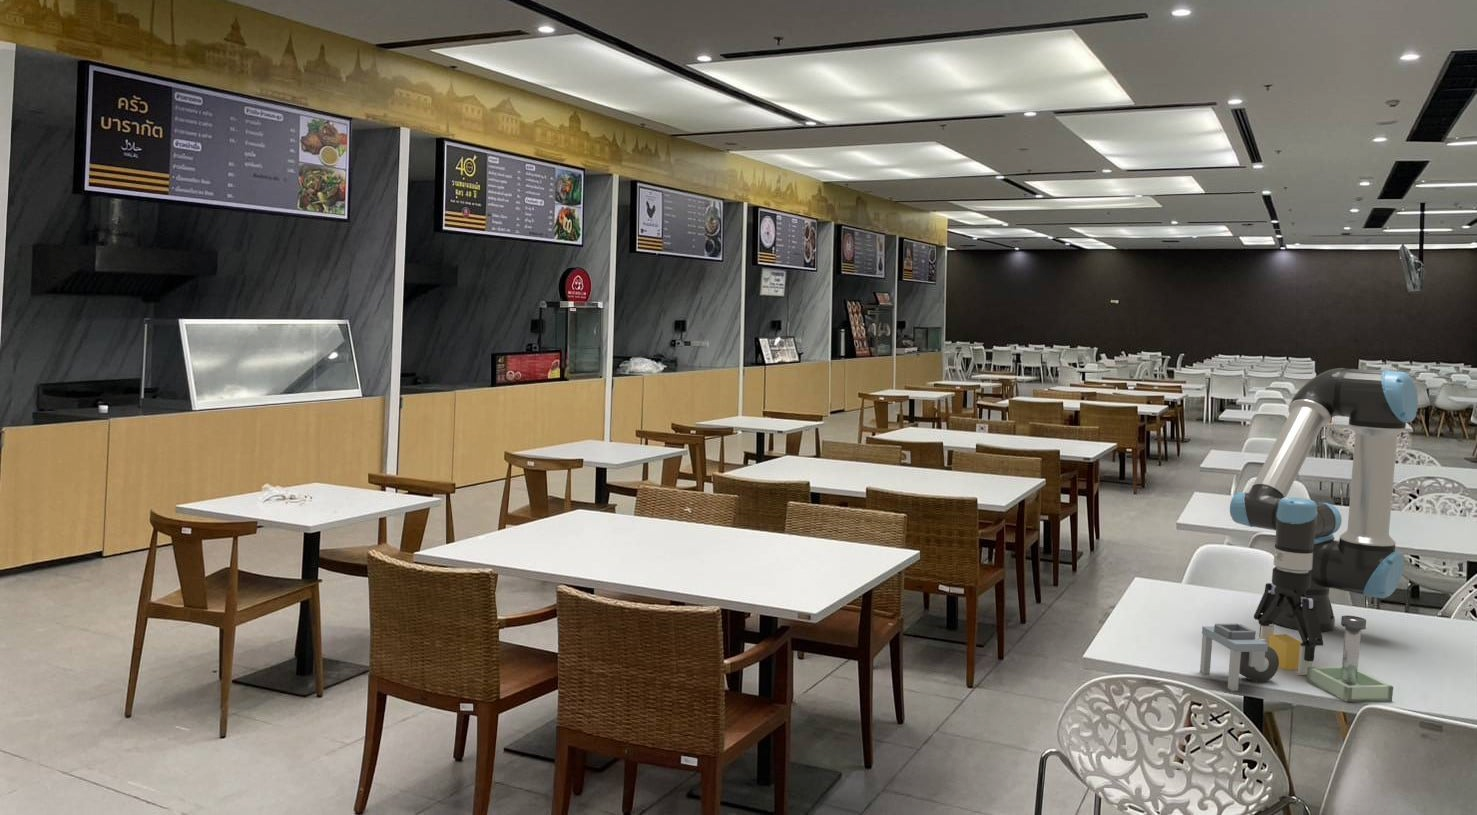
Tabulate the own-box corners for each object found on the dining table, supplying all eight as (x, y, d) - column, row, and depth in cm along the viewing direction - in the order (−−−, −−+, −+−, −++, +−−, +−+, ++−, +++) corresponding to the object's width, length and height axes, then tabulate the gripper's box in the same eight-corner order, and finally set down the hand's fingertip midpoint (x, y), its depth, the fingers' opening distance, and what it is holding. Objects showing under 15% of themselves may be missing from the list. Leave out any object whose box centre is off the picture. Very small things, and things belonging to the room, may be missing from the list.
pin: (1350, 684, 218) (1356, 615, 217) (1365, 691, 214) (1371, 621, 213) (1330, 684, 218) (1336, 615, 216) (1345, 692, 213) (1351, 621, 212)
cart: (1199, 671, 225) (1202, 619, 224) (1255, 670, 227) (1259, 619, 226) (1232, 691, 214) (1236, 637, 213) (1291, 690, 215) (1295, 636, 214)
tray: (1349, 680, 223) (1350, 666, 222) (1392, 701, 211) (1393, 686, 211) (1306, 680, 221) (1307, 667, 221) (1346, 702, 209) (1347, 687, 209)
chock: (1284, 660, 235) (1286, 634, 234) (1301, 669, 229) (1303, 642, 228) (1267, 660, 234) (1269, 634, 234) (1284, 670, 228) (1287, 643, 228)
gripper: (1241, 555, 241) (1234, 646, 243) (1314, 583, 217) (1306, 684, 219) (1272, 555, 242) (1264, 646, 244) (1347, 583, 218) (1339, 683, 220)
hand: (1284, 664), depth 231 cm, fingers open, 13 cm apart
